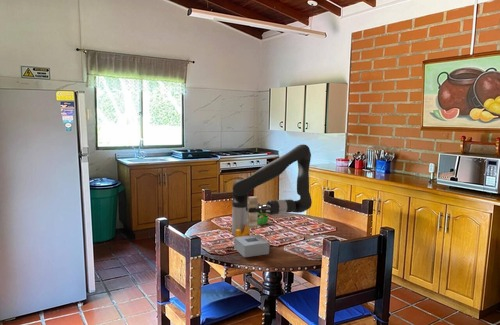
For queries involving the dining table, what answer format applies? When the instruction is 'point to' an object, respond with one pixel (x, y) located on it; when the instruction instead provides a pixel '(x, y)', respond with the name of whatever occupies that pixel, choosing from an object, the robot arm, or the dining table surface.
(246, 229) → the pipe clamp
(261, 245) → the grey square socket block
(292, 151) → the robot arm
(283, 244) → the dining table surface
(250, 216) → the wooden bar
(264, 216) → the fruit basket
